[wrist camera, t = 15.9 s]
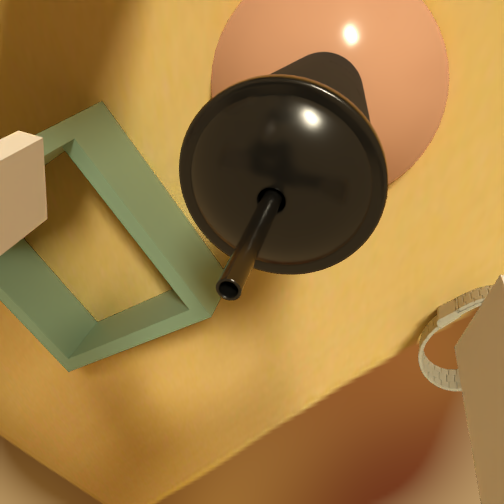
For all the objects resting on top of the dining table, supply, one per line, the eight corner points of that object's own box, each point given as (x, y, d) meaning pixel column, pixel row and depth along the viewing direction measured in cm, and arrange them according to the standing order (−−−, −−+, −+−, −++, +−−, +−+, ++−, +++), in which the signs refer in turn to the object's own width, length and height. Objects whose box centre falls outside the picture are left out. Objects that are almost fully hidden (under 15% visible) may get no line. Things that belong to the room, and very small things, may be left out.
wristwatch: (448, 372, 39) (456, 421, 34) (395, 324, 37) (396, 370, 33) (557, 315, 34) (581, 365, 30) (499, 259, 32) (515, 303, 28)
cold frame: (-26, 197, 41) (-118, 251, 33) (102, 101, 33) (19, 142, 26) (97, 334, 46) (41, 407, 39) (230, 278, 39) (192, 354, 31)
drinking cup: (307, 178, 31) (216, 425, 15) (235, 81, 29) (34, 244, 13) (414, 110, 27) (450, 341, 11) (340, -7, 25) (247, 63, 9)
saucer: (175, 49, 30) (167, 52, 29) (381, -106, 24) (380, -109, 23) (286, 224, 35) (283, 232, 34) (484, 134, 28) (487, 141, 27)
